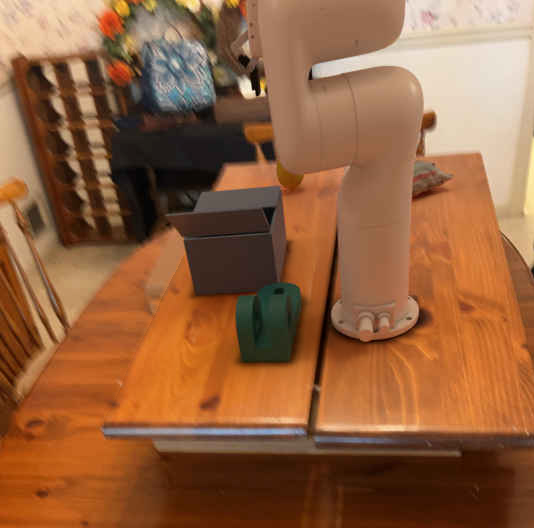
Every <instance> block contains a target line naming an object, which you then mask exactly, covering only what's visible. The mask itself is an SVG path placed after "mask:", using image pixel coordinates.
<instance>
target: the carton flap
mask: <svg viewBox="0 0 534 528" xmlns="http://www.w3.org/2000/svg"><path fill="white" fill-rule="evenodd" d="M165 218H166V219H167V220H168V221H169V223H170V224H171V225H172V226H173V228H174V229H175V230H176V231H177V232H178V234H179V236H181V238H184V237H196V236H209V235H222V234H235V233H248V232H262V231H271V229H270V226H269V224H268V221H267V219H266V216H265V214H264V212H263V209H262V207H261V206H260V207H248V208H236V209H223V210H211V211H199V212H193V211H190V212H189V211H187V212H177V213H176V212H175V213H165Z"/></svg>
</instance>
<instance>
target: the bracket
mask: <svg viewBox="0 0 534 528" xmlns="http://www.w3.org/2000/svg"><path fill="white" fill-rule="evenodd" d="M301 292H302V291H301V288H300V286H298V285H297V284H295V283H292V282H288V281H287V282H286V281H280V282H278V283H272V284H269V285H267V286H264V287H263V288H261V289H260V290H259V291H257V293H256V294H247V295H246V294H244V295H238V297H237V300H236V304H235V330H236V337H237V342H238V348H239V354H240V359H241V360H240V361H241V362H242V363H246V362H247V363H250V362H251V363H253V362H255V363H256V362H258V363H259V362H261V363H262V362H263V363H264V362H290V360H291V356H292V351H293V347H294V343H295V338H296V333H297V328H298V325H299V319H300V316H301V310H302V306H303V303H302V293H301Z"/></svg>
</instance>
